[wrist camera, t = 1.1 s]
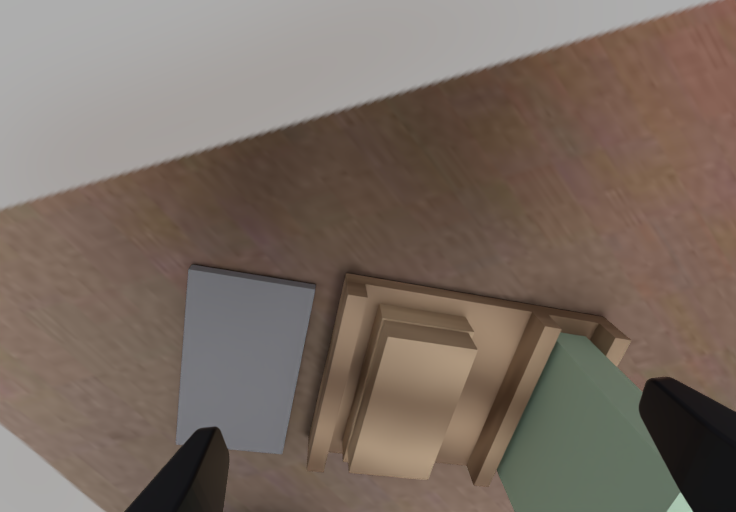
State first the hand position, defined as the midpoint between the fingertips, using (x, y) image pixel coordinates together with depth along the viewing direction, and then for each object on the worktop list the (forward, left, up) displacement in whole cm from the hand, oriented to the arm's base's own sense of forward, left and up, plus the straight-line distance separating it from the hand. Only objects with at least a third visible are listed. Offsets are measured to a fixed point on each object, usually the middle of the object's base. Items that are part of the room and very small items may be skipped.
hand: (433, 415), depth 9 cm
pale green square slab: (-9, -13, -13) cm, 20 cm away
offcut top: (-9, -4, -11) cm, 15 cm away
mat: (-10, +5, -14) cm, 18 cm away
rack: (-9, -7, -14) cm, 18 cm away
